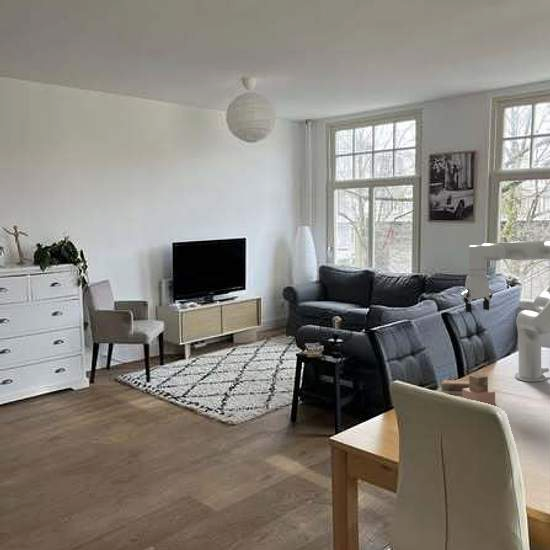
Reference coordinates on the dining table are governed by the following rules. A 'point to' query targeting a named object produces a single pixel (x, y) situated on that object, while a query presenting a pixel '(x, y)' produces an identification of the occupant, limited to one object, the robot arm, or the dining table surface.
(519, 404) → the dining table surface
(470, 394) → the base block
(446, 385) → the packaged product
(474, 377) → the walnut block
